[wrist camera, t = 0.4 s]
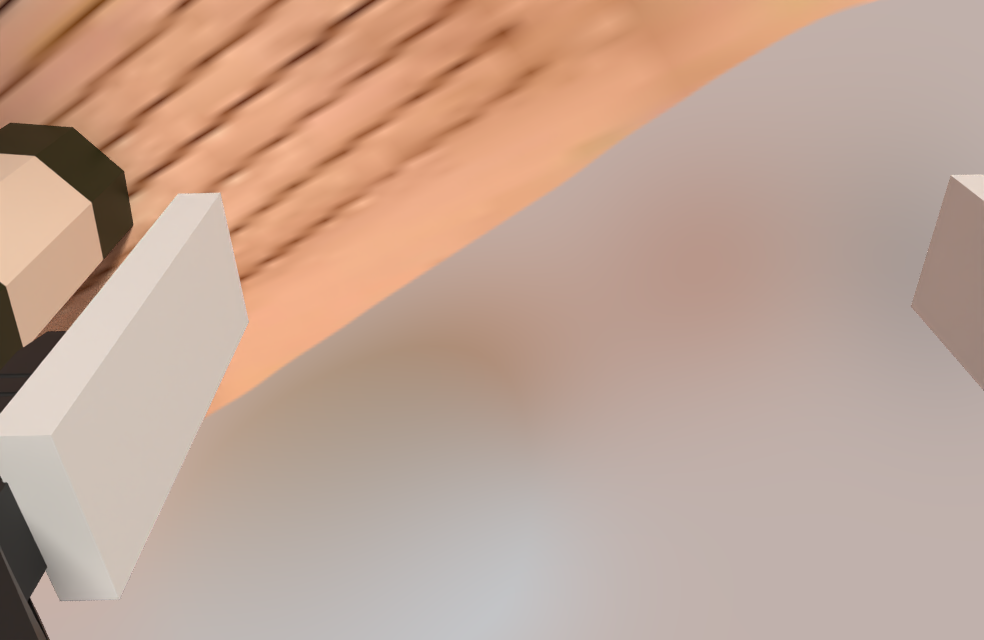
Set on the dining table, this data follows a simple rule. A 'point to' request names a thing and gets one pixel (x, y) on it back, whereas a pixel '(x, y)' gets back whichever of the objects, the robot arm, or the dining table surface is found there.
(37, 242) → the wine bottle
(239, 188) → the dining table surface
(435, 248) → the dining table surface
